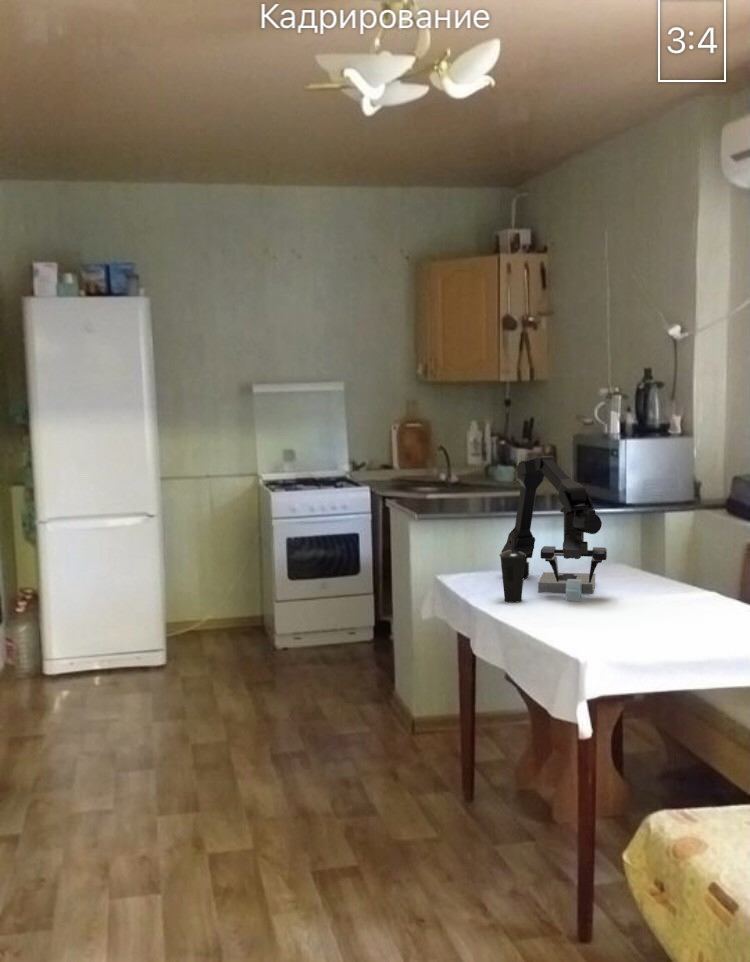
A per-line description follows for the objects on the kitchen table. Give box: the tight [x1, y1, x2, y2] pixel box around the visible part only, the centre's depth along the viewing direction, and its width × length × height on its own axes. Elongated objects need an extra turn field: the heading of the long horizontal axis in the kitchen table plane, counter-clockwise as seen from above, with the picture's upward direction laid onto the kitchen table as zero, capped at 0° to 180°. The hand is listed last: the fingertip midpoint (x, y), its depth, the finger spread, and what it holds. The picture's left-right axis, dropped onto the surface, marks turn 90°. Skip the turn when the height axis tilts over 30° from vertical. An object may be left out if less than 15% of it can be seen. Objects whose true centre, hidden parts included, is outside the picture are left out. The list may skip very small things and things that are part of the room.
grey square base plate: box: [537, 571, 596, 595], centre depth 319 cm, size 16×16×3 cm
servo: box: [565, 579, 583, 602], centre depth 305 cm, size 4×10×5 cm, turn 165°
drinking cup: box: [499, 531, 526, 603], centre depth 302 cm, size 8×8×20 cm
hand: (573, 582), depth 304 cm, fingers open, 9 cm apart
